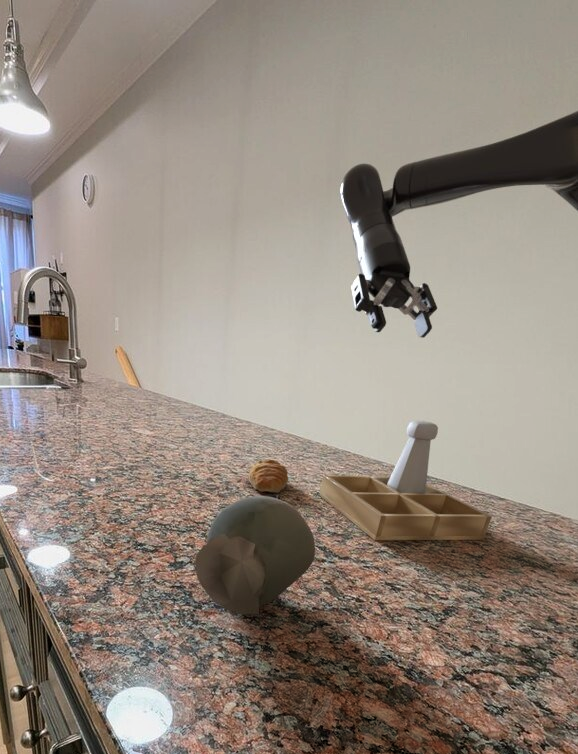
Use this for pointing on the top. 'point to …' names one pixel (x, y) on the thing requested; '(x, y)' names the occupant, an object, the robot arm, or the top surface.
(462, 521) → the grid
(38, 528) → the top surface
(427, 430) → the salt shaker
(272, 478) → the pastry
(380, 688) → the top surface
